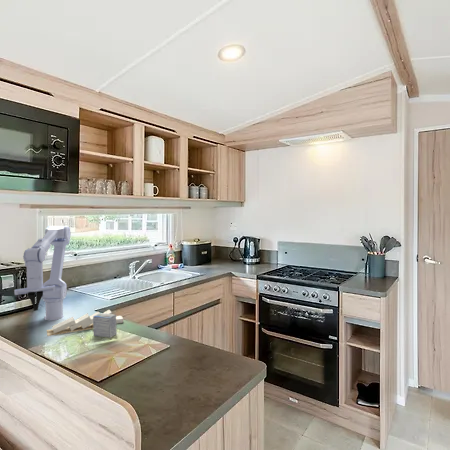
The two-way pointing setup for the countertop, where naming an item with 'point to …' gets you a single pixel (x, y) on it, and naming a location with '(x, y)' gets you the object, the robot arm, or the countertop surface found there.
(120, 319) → the domino
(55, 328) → the domino
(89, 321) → the domino
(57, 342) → the countertop surface
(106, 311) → the domino
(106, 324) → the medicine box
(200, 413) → the countertop surface
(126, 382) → the countertop surface
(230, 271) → the countertop surface
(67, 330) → the oak strip
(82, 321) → the domino
